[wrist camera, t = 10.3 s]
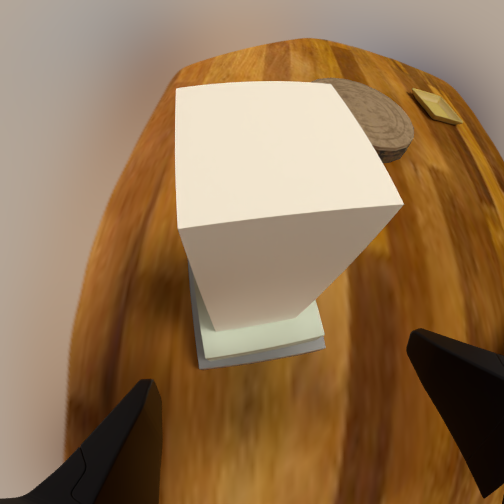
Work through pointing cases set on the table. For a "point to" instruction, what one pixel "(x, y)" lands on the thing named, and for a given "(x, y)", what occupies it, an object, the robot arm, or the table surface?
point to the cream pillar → (273, 195)
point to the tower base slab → (246, 359)
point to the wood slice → (376, 117)
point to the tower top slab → (257, 333)
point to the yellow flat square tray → (436, 107)
